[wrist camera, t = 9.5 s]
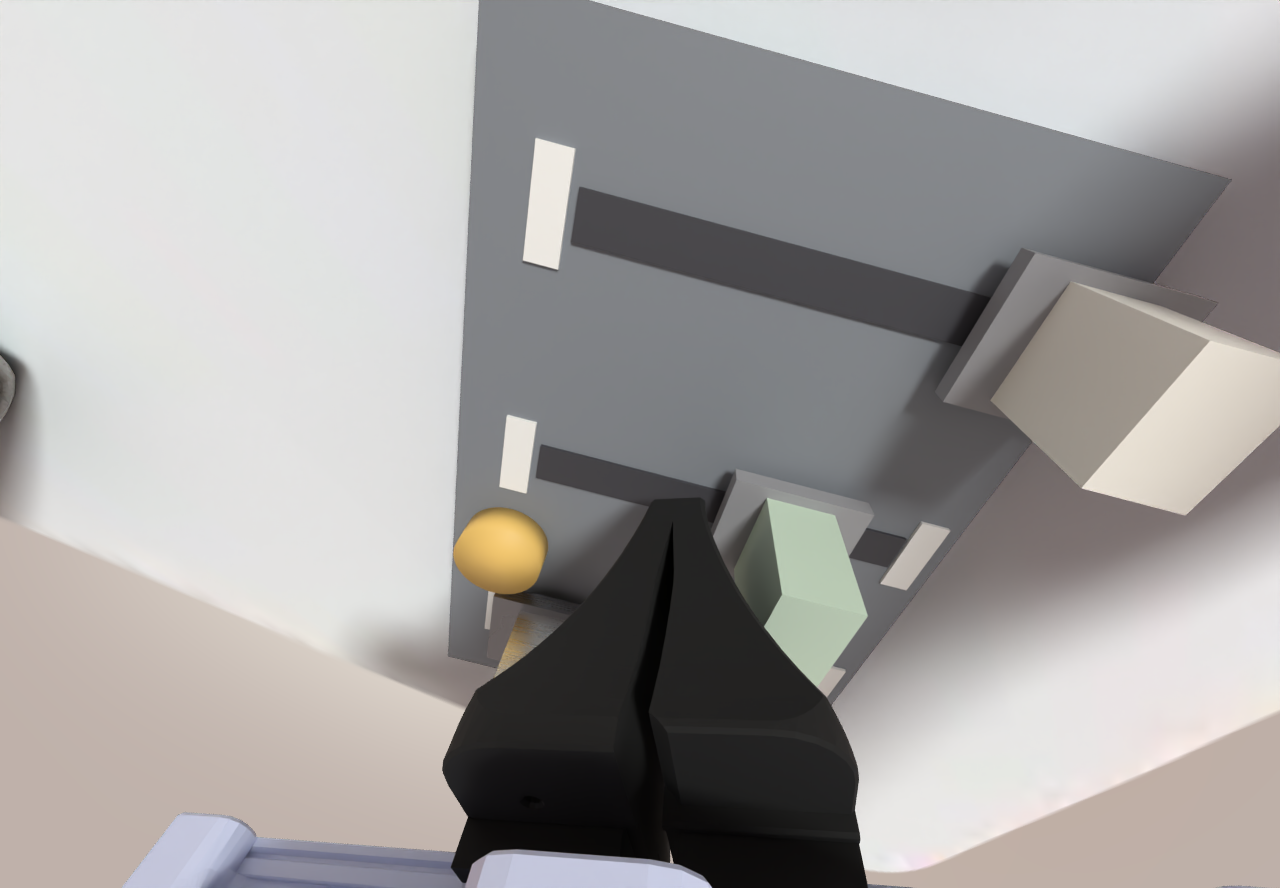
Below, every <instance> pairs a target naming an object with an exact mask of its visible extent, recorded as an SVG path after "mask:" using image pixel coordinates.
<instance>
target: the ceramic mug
mask: <svg viewBox="0 0 1280 888" xmlns="http://www.w3.org/2000/svg"><path fill="white" fill-rule="evenodd" d="M14 394H15V375H14V373H13V371H12V369H11V368H10V366H9V365H8V364H7V362H6V361H5V360H4V359H3V358H2V357H1V356H0V421H1V420H2V419H3V417H4V416H5V414H6V413H7V411H8V409H9V407H10V405H11V402H12V399H13V397H14Z"/></svg>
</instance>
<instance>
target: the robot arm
mask: <svg viewBox="0 0 1280 888" xmlns="http://www.w3.org/2000/svg"><path fill="white" fill-rule="evenodd" d="M442 771H443V774H444V776H445V779H446V781H447V783H448V785H449V787H450V789H451V790H452V792H453V793H454V795H455V797H456V798H457V800H458V802H459V803H460V805H461V806H462V808H463V810H464V811H465V813H466V814H467V816H468V819H467V822H466V825H465V827H464V830H463V833H462V836H461V839H460V842H459V845H458V847H457V851H456V852H444V851H430V850H417V849H405V848H391V847H379V846H366V845H353V844H339V843H327V842H314V841H301V840H289V839H276V838H262V837H256V833H255V832H254V831H253V830H252V828H251V827H249V826H248V825H247V824H246V823H244V822H243V821H241V820H239V819H237V818H234V817H231V816H226V815H216V814H202V813H187V812H184V813H181V814H178V815H177V817H176V818H175V819H174V821H173V822H172V823H171V824H170V826H169V827H168V828H167V830H166V831H165V832H164V833H163V835H162V836H161V838H160V839H159V840H158V841H157V843H156V844H155V845H154V846H153V848H152V849H151V850H150V852H149V853H148V854H147V855H146V857H145V858H144V859H143V861H142V862H141V863H140V865H139V866H138V867H137V868H136V870H135V871H134V872H133V874H132V875H131V876H130V877H129V879H128V880H127V881H126V883H125V884H124V885H123V886H122V888H911V887H898V886H884V885H872V884H867V880H866V875H865V870H864V866H863V861H862V856H861V851H860V847H859V843H860V832H859V828H858V823H857V818H856V814H855V805H856V797H857V790H858V783H859V775H858V767H857V763H856V760H855V757H854V754H853V751H852V749H851V746H850V743H849V741H848V739H847V736H846V734H845V732H844V730H843V728H842V726H841V724H840V722H839V720H838V718H837V716H836V714H835V712H834V710H833V708H832V706H831V704H830V702H829V701H828V699H827V697H826V696H825V695H824V694H823V693H822V692H821V691H820V690H819V689H818V688H817V687H816V686H815V685H814V684H813V683H812V682H811V681H810V680H809V679H808V678H807V677H806V676H805V675H804V674H803V673H802V671H801V670H800V669H799V668H798V667H797V666H796V665H795V664H794V663H793V662H792V660H791V659H790V658H789V657H788V656H787V655H786V654H785V653H784V651H783V650H782V649H781V648H780V646H779V645H778V644H777V643H776V641H775V640H774V639H773V638H772V636H771V635H770V634H769V632H768V631H767V630H766V629H765V627H764V626H763V625H762V624H761V622H760V621H759V619H758V618H757V617H756V615H755V614H754V612H753V611H752V609H751V608H750V606H749V605H748V603H747V602H746V600H745V599H744V597H743V595H742V594H741V592H740V591H739V589H738V587H737V585H736V584H735V582H734V580H733V578H732V576H731V575H730V573H729V571H728V569H727V567H726V565H725V563H724V561H723V559H722V557H721V554H720V552H719V550H718V547H717V545H716V543H715V540H714V538H713V535H712V532H711V529H710V526H709V523H708V519H707V515H706V505H705V500H703V499H702V498H701V497H695V498H673V499H654V500H653V501H652V502H651V504H650V506H649V508H648V510H647V512H646V514H645V516H644V517H643V519H642V521H641V523H640V525H639V526H638V528H637V530H636V531H635V533H634V535H633V536H632V538H631V539H630V541H629V543H628V544H627V546H626V547H625V549H624V550H623V552H622V553H621V555H620V556H619V558H618V559H617V560H616V562H615V563H614V565H613V566H612V567H611V569H610V570H609V571H608V573H607V574H606V575H605V577H604V578H603V579H602V581H601V582H600V583H599V584H598V585H597V587H596V588H595V589H594V590H593V591H592V593H591V594H590V595H589V596H588V597H587V598H586V599H585V601H584V602H583V603H582V604H581V605H580V606H579V607H578V608H577V609H576V610H575V611H574V612H573V613H572V614H571V615H570V616H569V617H568V618H567V619H566V620H565V621H564V622H563V623H562V624H561V625H560V626H559V627H558V628H557V629H556V630H555V631H554V632H553V633H552V634H550V635H549V636H548V637H547V638H546V639H545V640H543V641H542V642H541V643H540V644H539V645H537V646H536V647H535V648H534V649H533V650H531V651H530V652H529V653H528V654H527V655H525V656H524V657H523V658H521V659H520V660H519V661H517V662H516V663H515V664H513V665H512V666H511V667H509V668H508V669H506V670H505V671H503V672H502V673H500V674H499V675H498V676H496V677H495V678H493V679H492V680H490V681H489V682H487V683H486V684H485V685H483V686H481V687H480V688H478V689H477V690H476V691H475V693H474V695H473V697H472V699H471V701H470V703H469V704H468V706H467V708H466V710H465V712H464V714H463V716H462V718H461V720H460V722H459V725H458V727H457V729H456V732H455V734H454V736H453V739H452V741H451V744H450V746H449V749H448V751H447V753H446V756H445V758H444V760H443V769H442ZM670 850H671V854H672V858H673V862H674V864H672V863H670ZM1217 888H1263V887H1250V886H1222V887H1217Z"/></svg>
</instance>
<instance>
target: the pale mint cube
mask: <svg viewBox="0 0 1280 888" xmlns="http://www.w3.org/2000/svg"><path fill="white" fill-rule="evenodd" d="M873 517H874V513H873V511H872V508H871V506H870V504H869V503H867V502H863V501H859V500H855V499H851V498H848V497H844V496H840V495H836V494H832V493H828V492H824V491H820V490H817V489H813V488H809V487H805V486H801V485H797V484H793V483H790V482H786V481H782V480H778V479H774V478H770V477H766V476H762V475H759V474H755V473H751V472H747V471H743V470H739V469H735V471H734V474H733V476H732V479H731V481H730V484H729V486H728V489H727V491H726V494H725V496H724V499H723V501H722V503H721V506H720V508H719V511H718V513H717V516H716V518H715V521H714V523H713V526H712V528H711V532H712V535H713V538H714V540H715V543H716V545H717V547H718V550H719V552H720V554H721V557H722V559H723V561H724V563H725V565H726V567H727V569H728V571H729V573H730V575H731V576H732V577H735V584H736V585H737V587H738V589H739V591H740V592H741V594H742V595H743V597H744V599H745V600H746V602H747V603H748V605H749V606H750V608H751V609H752V611H753V612H754V614H755V615H756V617H757V618H758V619H759V621H760V622H761V624H762V625H763V626H764V627H765V629H766V630H767V631H768V632H769V634H770V635H771V636H772V638H773V639H774V640H775V641H776V643H777V644H778V645H779V646H780V648H781V649H782V650H783V651H784V653H785V654H786V655H787V656H788V657H789V658H790V659H791V660H792V662H793V663H794V664H795V665H796V666H797V667H798V668H799V669H800V670H801V671H802V673H803V674H804V675H805V676H806V677H807V678H808V679H809V680H810V681H811V682H812V683H813V684H814V685H815V686H816V687H818V685H819V684H820V683H821V681H822V680H823V678H824V677H825V676H826V674H827V673H828V671H829V670H830V669H831V667H832V666H833V664H834V663H835V662H836V660H837V659H838V657H839V656H840V655H841V653H842V652H843V650H844V649H845V648H846V646H847V645H848V643H849V642H850V641H851V639H852V638H853V636H854V635H855V634H856V632H857V631H858V629H859V628H860V627H861V625H862V624H863V622H864V621H865V620H866V618H867V617H868V615H867V612H866V609H865V606H864V603H863V599H862V596H861V593H860V590H859V587H858V584H857V581H856V578H855V575H854V572H853V569H852V566H851V563H850V560H849V555H850V554H851V552H852V551H853V549H854V547H855V546H856V544H857V543H858V541H859V539H860V538H861V536H862V534H863V533H864V531H865V530H866V528H867V526H868V525H869V523H870V522H871V520H872V518H873Z"/></svg>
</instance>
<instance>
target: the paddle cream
mask: <svg viewBox="0 0 1280 888" xmlns="http://www.w3.org/2000/svg"><path fill="white" fill-rule="evenodd" d="M1217 304H1218V303H1217V302H1215V301H1212V300H1209V299H1206V298H1203V297H1200V296H1197V295H1193V294H1190V293H1186V292H1182V291H1179V290H1175V289H1171V288H1168V287H1164V286H1160V285H1157V284H1153V283H1149V282H1146V281H1142V280H1138V279H1135V278H1131V277H1127V276H1124V275H1120V274H1116V273H1113V272H1109V271H1105V270H1102V269H1098V268H1094V267H1091V266H1087V265H1083V264H1080V263H1076V262H1072V261H1069V260H1065V259H1061V258H1058V257H1054V256H1050V255H1047V254H1043V253H1039V252H1036V251H1032V250H1028V249H1025V248H1021V249H1020V251H1019V253H1018V254H1017V256H1016V258H1015V259H1014V261H1013V263H1012V264H1011V266H1010V268H1009V269H1008V271H1007V273H1006V274H1005V276H1004V278H1003V279H1002V281H1001V283H1000V284H999V286H998V288H997V289H996V291H995V293H994V294H993V296H992V298H991V299H990V301H989V303H988V304H987V306H986V307H985V309H984V311H983V312H982V314H981V316H980V317H979V319H978V321H977V322H976V324H975V326H974V327H973V329H972V331H971V332H970V334H969V336H968V337H967V339H966V341H965V342H964V344H963V346H962V347H961V349H960V351H959V352H958V354H957V356H956V357H955V359H954V361H953V362H952V364H951V365H950V367H949V369H948V370H947V372H946V374H945V375H944V377H943V379H942V380H941V382H940V384H939V385H938V387H937V389H936V390H935V393H936V394H937V395H938V397H939V398H940V399H941V400H942V401H943V402H945V403H949V404H953V405H957V406H960V407H964V408H968V409H972V410H976V411H979V412H983V413H987V414H991V415H994V416H998V417H1002V418H1006V419H1010V420H1011V421H1012V422H1013V423H1014V424H1015V425H1016V426H1017V427H1018V428H1019V429H1020V430H1021V431H1022V432H1023V433H1025V434H1026V435H1027V436H1028V437H1029V438H1030V439H1031V440H1032V441H1033V442H1034V443H1035V444H1036V445H1037V446H1038V447H1039V448H1040V449H1041V450H1042V451H1043V452H1044V453H1045V454H1046V455H1047V456H1048V457H1049V458H1050V459H1051V460H1052V461H1053V462H1054V463H1056V464H1057V465H1058V466H1059V467H1060V468H1061V469H1062V470H1063V471H1064V472H1065V473H1066V474H1067V475H1068V476H1069V477H1070V478H1071V479H1072V480H1073V481H1074V482H1075V483H1076V484H1077V485H1078V486H1079V487H1080V488H1082V489H1086V490H1089V491H1093V492H1097V493H1101V494H1105V495H1109V496H1112V497H1116V498H1120V499H1124V500H1128V501H1131V502H1135V503H1139V504H1143V505H1147V506H1151V507H1154V508H1158V509H1162V510H1166V511H1170V512H1174V513H1177V514H1181V515H1185V516H1186V515H1187V514H1188V513H1189V512H1190V511H1191V510H1192V509H1193V508H1194V507H1195V506H1196V505H1197V504H1198V503H1199V502H1200V501H1201V500H1202V499H1203V498H1204V497H1206V496H1207V495H1208V494H1209V493H1210V492H1211V491H1212V490H1213V489H1214V488H1215V487H1216V486H1217V485H1218V484H1219V483H1220V482H1221V481H1222V480H1223V479H1224V478H1225V477H1227V476H1228V475H1229V474H1230V473H1231V472H1232V471H1233V470H1234V469H1235V468H1236V467H1237V466H1238V465H1239V464H1240V463H1241V462H1242V461H1243V460H1244V459H1245V458H1246V457H1248V456H1249V455H1250V454H1251V453H1252V452H1253V451H1254V450H1255V449H1256V448H1257V447H1258V446H1259V445H1260V444H1261V443H1262V442H1263V441H1264V440H1265V439H1266V438H1267V437H1269V436H1270V435H1271V434H1272V433H1273V432H1274V431H1275V430H1276V429H1277V428H1278V427H1279V426H1280V353H1279V352H1276V351H1274V350H1271V349H1269V348H1266V347H1264V346H1261V345H1259V344H1256V343H1254V342H1251V341H1249V340H1246V339H1244V338H1241V337H1238V336H1236V335H1233V334H1231V333H1228V332H1226V331H1223V330H1221V329H1218V328H1216V327H1213V326H1211V325H1208V324H1205V323H1203V321H1204V319H1205V318H1206V317H1207V316H1208V315H1209V314H1210V312H1211V311H1212V310H1213V309H1214V308H1215V306H1216V305H1217Z"/></svg>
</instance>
